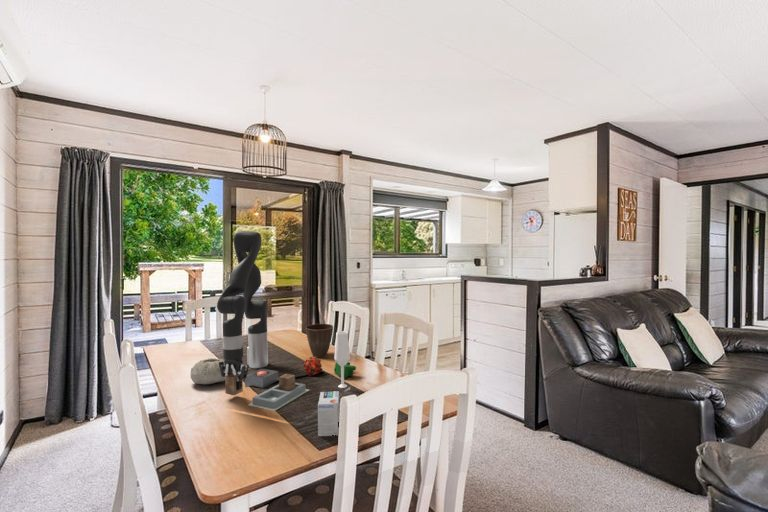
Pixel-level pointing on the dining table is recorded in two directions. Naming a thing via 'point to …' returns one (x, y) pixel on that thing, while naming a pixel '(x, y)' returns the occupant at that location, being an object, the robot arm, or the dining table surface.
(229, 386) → the walnut billet
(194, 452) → the dining table surface
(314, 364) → the dragon fruit
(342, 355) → the champagne flute
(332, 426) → the light bulb box
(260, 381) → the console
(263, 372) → the button
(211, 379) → the decorative shell
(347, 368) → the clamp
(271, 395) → the gray compartment tray
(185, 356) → the dining table surface
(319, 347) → the plant pot
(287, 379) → the block
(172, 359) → the dining table surface
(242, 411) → the dining table surface
